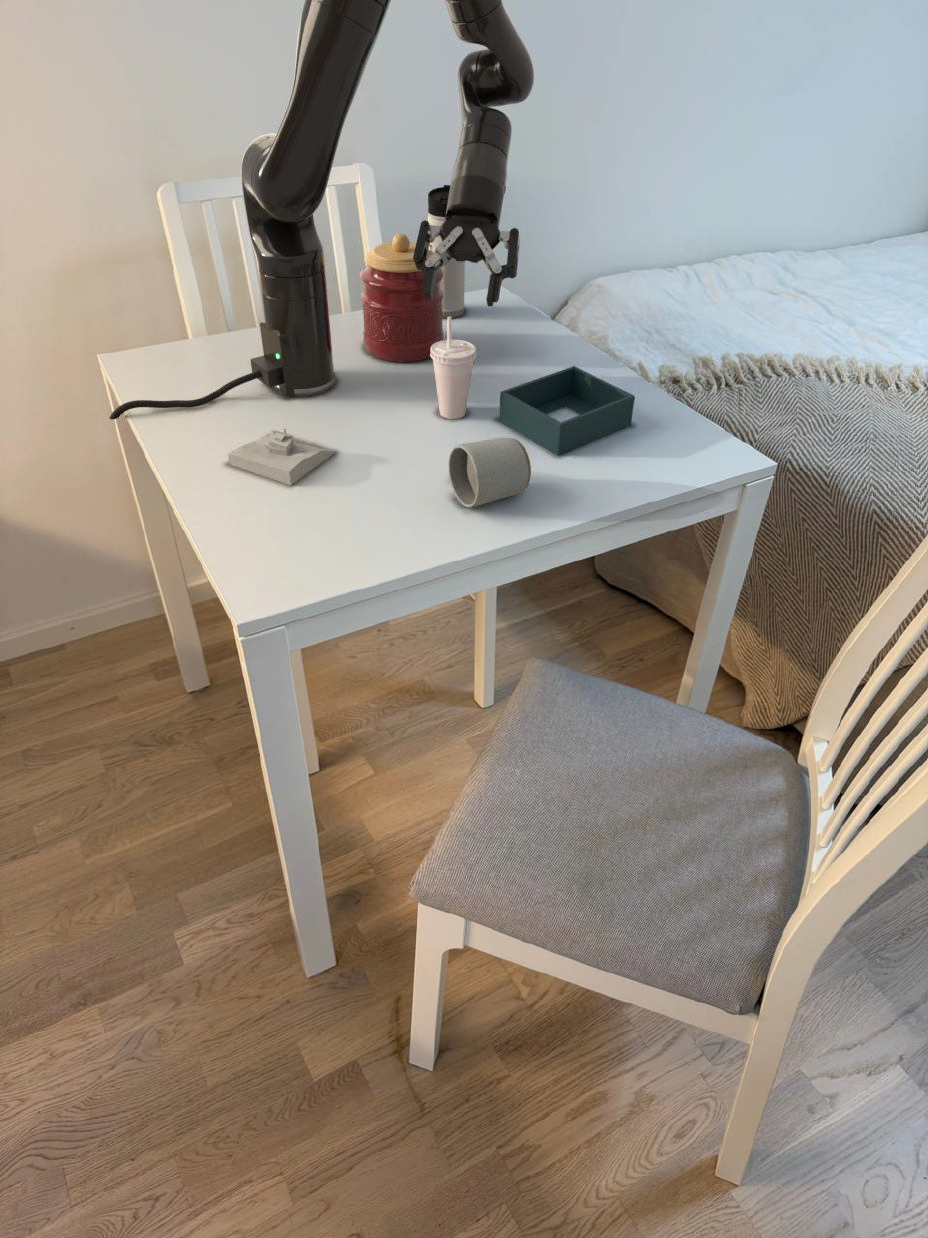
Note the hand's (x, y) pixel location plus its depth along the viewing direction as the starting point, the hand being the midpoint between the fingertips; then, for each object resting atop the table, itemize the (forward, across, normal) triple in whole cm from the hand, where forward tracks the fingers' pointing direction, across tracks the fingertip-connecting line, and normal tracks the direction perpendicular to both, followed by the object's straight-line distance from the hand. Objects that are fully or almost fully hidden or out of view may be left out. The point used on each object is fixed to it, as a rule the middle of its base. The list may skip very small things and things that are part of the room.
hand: (459, 300), depth 121 cm
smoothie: (+14, 0, +7) cm, 15 cm away
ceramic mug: (+28, +8, -7) cm, 30 cm away
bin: (+13, +16, +8) cm, 22 cm away
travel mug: (-13, -9, +34) cm, 37 cm away
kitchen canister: (-1, -12, +22) cm, 25 cm away
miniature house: (+26, -19, -5) cm, 33 cm away
